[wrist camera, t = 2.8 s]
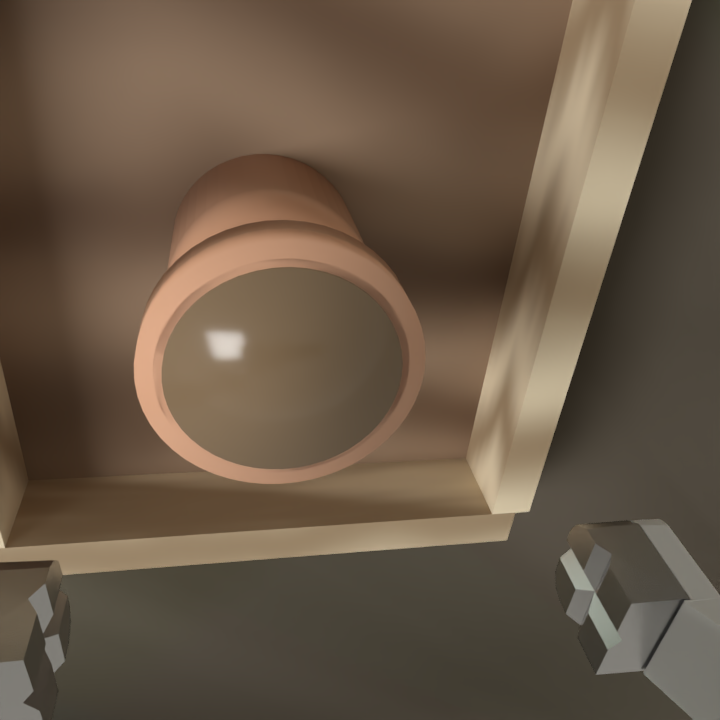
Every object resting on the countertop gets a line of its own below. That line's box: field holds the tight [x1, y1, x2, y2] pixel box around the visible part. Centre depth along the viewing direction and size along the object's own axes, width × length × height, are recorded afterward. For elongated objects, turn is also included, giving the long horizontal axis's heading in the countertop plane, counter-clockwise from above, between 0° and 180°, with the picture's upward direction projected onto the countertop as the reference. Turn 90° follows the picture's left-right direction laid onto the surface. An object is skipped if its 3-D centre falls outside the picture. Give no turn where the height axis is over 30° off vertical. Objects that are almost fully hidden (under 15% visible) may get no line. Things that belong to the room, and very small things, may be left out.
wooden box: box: [0, 0, 692, 575], centre depth 19 cm, size 23×21×9 cm
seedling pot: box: [134, 154, 426, 484], centre depth 19 cm, size 7×7×8 cm
